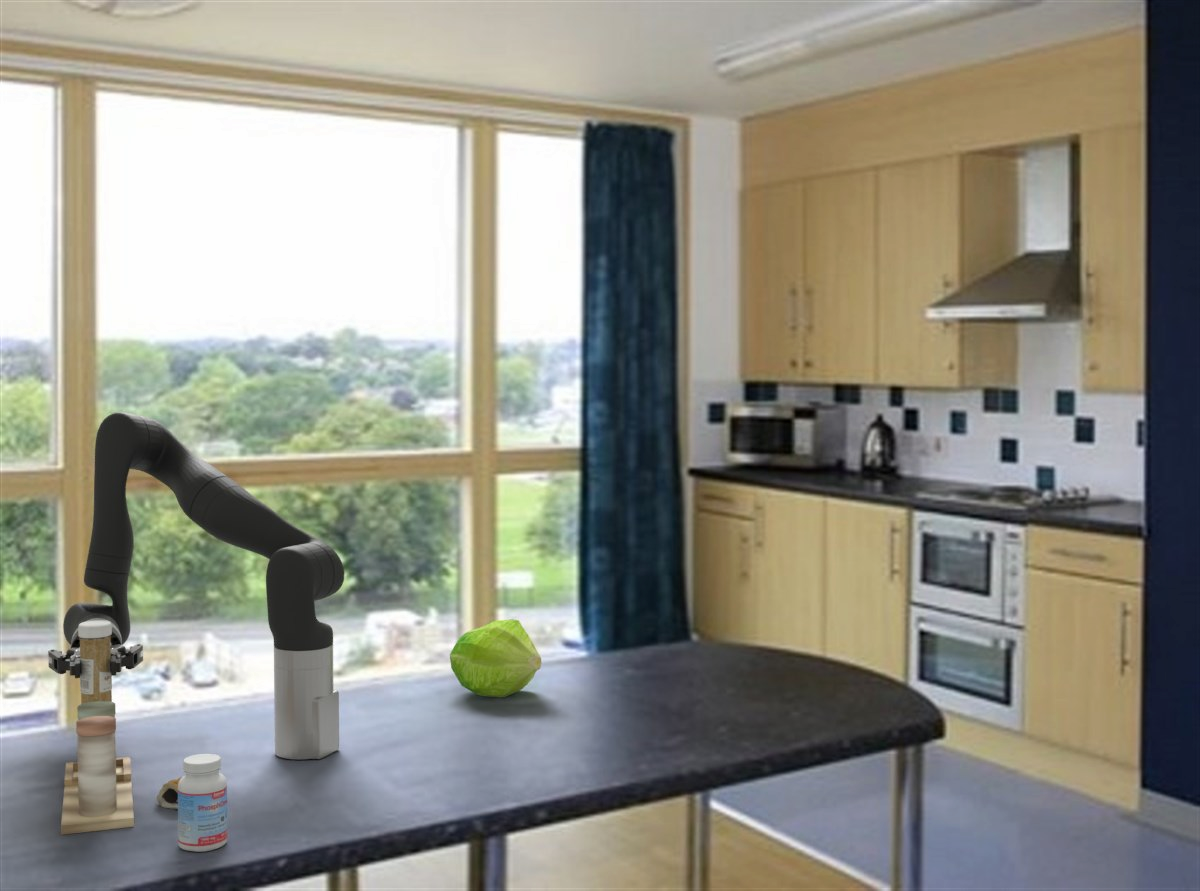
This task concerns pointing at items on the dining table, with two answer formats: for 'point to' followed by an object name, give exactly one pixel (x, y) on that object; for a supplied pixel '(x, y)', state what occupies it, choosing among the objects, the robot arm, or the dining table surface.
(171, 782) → the pastry
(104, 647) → the spice jar
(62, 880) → the dining table surface
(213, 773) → the pill bottle
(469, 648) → the lettuce
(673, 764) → the dining table surface
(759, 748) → the dining table surface
